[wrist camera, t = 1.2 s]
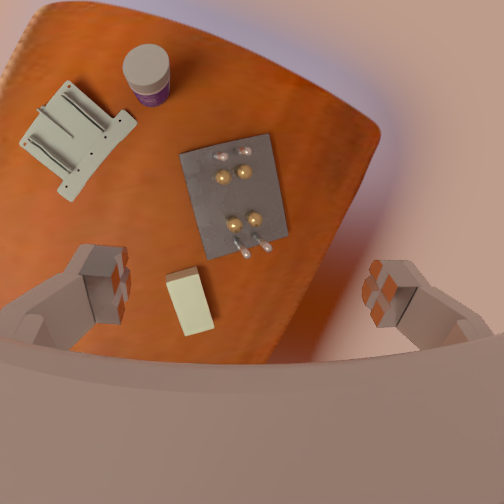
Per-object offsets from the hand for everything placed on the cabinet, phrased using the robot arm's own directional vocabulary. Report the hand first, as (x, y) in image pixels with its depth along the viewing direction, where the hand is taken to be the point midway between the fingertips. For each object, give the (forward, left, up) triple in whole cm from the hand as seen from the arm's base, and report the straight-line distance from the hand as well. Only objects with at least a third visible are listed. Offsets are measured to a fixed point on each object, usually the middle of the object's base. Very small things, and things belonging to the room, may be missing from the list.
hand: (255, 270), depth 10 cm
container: (+13, +2, -36) cm, 38 cm away
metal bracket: (+11, +15, -36) cm, 40 cm away
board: (-19, +5, -36) cm, 41 cm away
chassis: (-5, -6, -35) cm, 36 cm away
